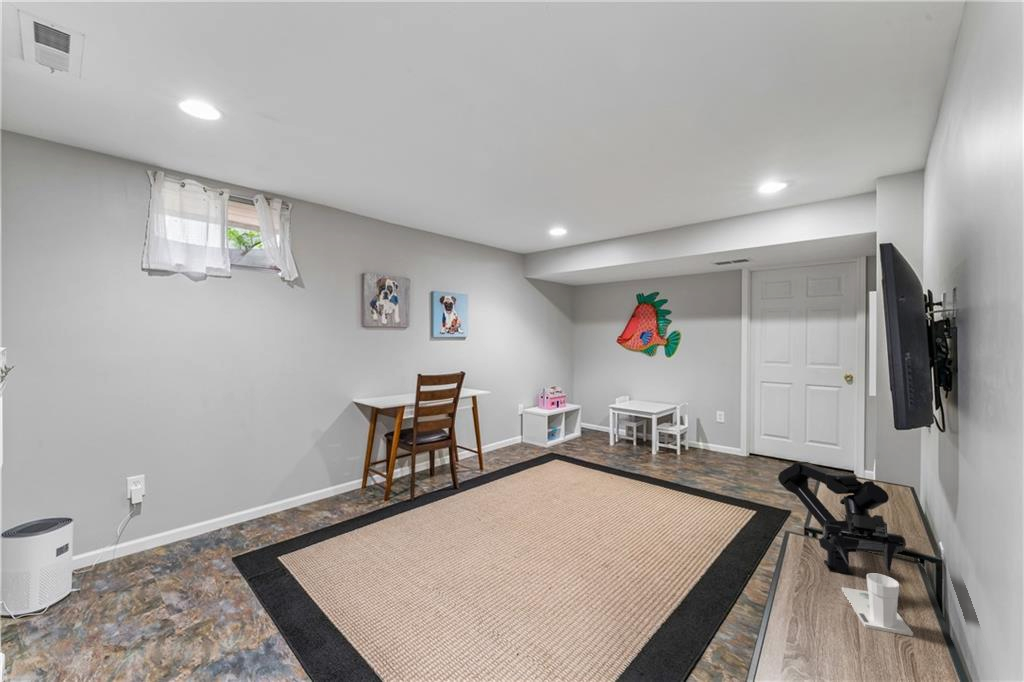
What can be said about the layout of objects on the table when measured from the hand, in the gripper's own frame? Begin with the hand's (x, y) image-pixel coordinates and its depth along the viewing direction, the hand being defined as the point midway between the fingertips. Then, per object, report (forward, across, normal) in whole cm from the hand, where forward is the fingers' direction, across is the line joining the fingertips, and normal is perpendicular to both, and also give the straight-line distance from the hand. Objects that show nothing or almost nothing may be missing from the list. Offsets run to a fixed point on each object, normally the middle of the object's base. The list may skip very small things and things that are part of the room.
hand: (868, 567), depth 123 cm
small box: (-21, +8, +37) cm, 43 cm away
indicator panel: (+10, +1, +5) cm, 11 cm away
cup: (+13, +1, 0) cm, 13 cm away
